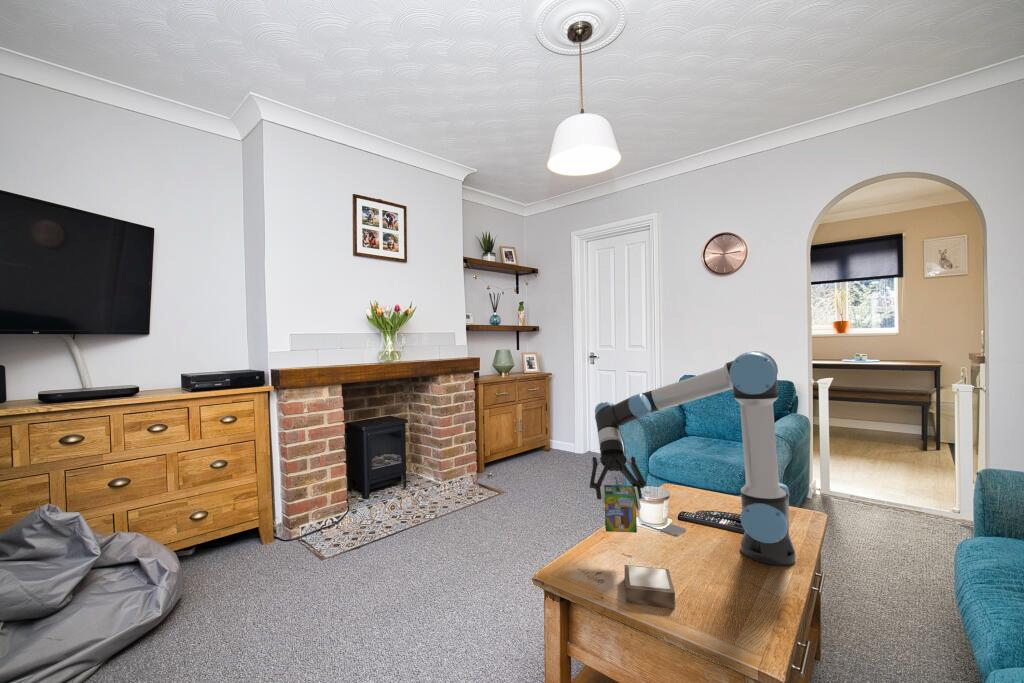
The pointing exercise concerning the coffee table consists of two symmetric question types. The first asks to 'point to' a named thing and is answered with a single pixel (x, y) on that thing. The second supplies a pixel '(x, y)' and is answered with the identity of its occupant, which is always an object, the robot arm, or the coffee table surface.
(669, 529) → the smartphone
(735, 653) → the coffee table surface
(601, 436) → the robot arm
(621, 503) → the chalk box
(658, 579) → the base brick
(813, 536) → the coffee table surface
